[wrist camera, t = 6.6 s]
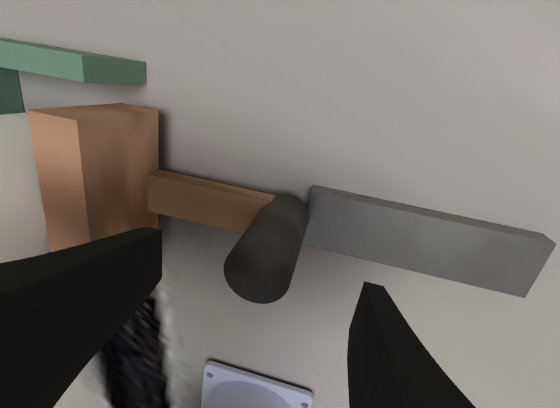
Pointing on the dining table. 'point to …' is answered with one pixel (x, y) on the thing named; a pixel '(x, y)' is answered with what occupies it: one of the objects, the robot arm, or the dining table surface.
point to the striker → (155, 194)
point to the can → (19, 193)
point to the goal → (58, 69)
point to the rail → (426, 241)
